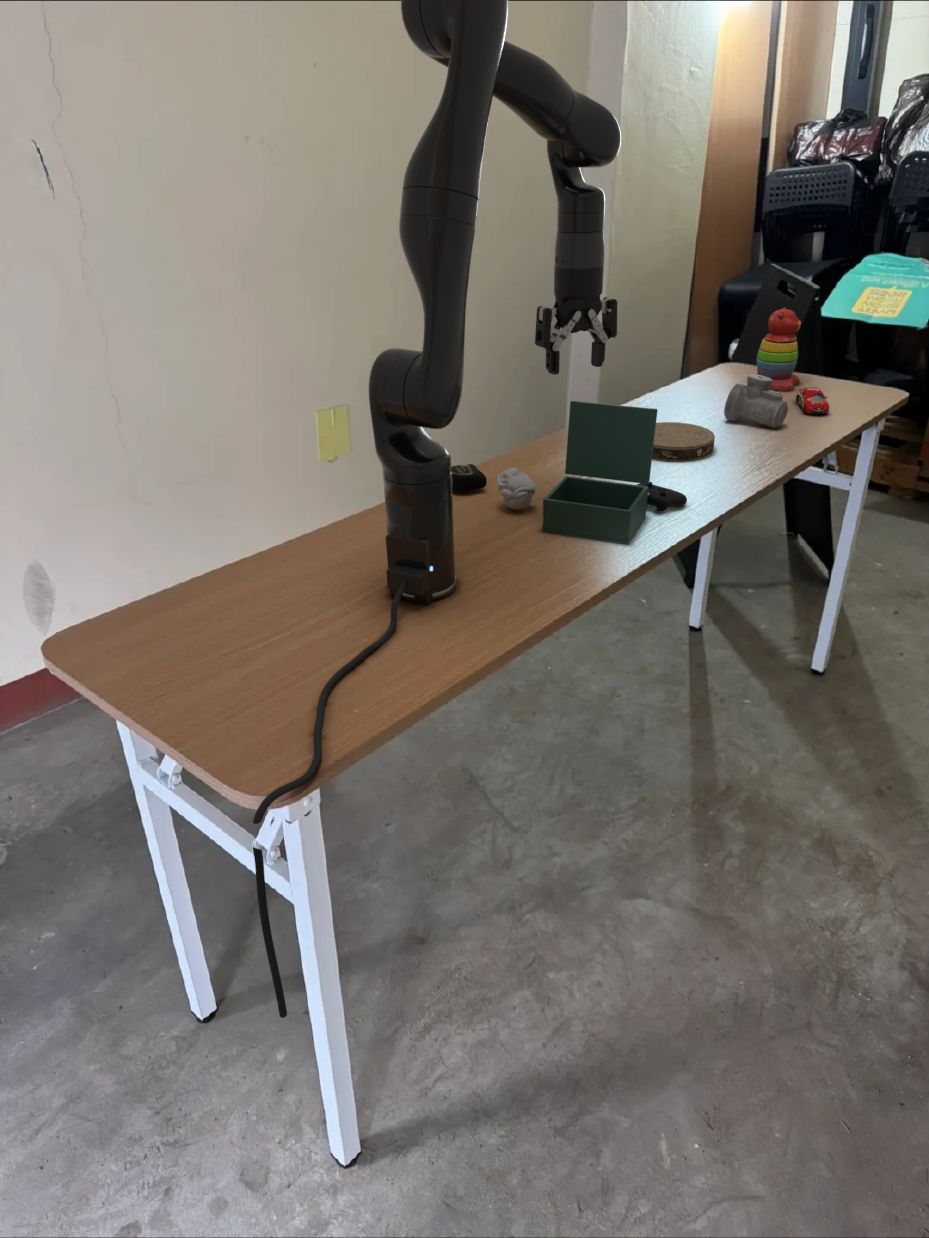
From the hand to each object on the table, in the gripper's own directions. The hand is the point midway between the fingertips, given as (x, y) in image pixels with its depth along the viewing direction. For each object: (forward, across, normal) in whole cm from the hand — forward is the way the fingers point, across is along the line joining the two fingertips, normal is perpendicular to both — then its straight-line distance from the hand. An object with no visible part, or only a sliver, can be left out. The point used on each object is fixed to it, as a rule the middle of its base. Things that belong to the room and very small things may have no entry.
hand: (575, 369), depth 140 cm
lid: (+11, +2, -7) cm, 13 cm away
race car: (+23, +77, +16) cm, 82 cm away
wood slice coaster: (+23, +33, +11) cm, 42 cm away
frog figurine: (+23, -10, +2) cm, 25 cm away
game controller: (+23, +11, -9) cm, 27 cm away
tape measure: (+23, -12, +15) cm, 30 cm away
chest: (+23, -3, -11) cm, 25 cm away
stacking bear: (+23, +85, +34) cm, 95 cm away
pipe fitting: (+23, +58, +14) cm, 64 cm away
